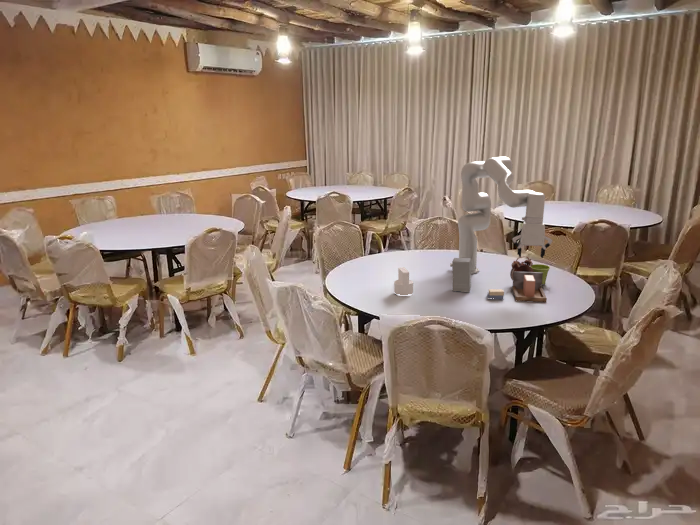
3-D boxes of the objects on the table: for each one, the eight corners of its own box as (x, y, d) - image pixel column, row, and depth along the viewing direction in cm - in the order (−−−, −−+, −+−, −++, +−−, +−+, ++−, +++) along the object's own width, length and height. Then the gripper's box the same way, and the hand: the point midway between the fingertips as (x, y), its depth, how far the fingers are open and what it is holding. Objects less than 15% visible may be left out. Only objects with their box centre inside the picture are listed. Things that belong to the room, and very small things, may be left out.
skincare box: (470, 289, 248) (471, 257, 244) (469, 293, 242) (470, 261, 237) (453, 287, 251) (454, 256, 247) (451, 292, 244) (452, 260, 240)
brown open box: (515, 300, 230) (516, 282, 228) (512, 289, 246) (513, 271, 244) (546, 302, 227) (547, 283, 225) (541, 290, 243) (542, 272, 241)
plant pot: (550, 286, 249) (551, 269, 246) (530, 285, 251) (531, 269, 248) (547, 280, 257) (548, 264, 255) (527, 280, 259) (528, 263, 257)
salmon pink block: (525, 297, 233) (526, 280, 231) (523, 290, 241) (524, 274, 239) (534, 297, 232) (535, 280, 230) (531, 291, 240) (533, 275, 238)
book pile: (487, 299, 233) (487, 291, 232) (487, 296, 237) (487, 288, 236) (503, 300, 231) (504, 292, 230) (503, 297, 235) (503, 289, 234)
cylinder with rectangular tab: (415, 296, 240) (415, 271, 237) (396, 297, 238) (396, 273, 235) (410, 290, 248) (410, 266, 245) (392, 291, 247) (392, 268, 244)
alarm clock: (528, 283, 254) (530, 254, 250) (533, 286, 249) (535, 257, 245) (508, 285, 252) (510, 256, 248) (513, 288, 248) (515, 258, 244)
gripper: (514, 221, 226) (511, 258, 230) (555, 222, 222) (551, 259, 227) (513, 217, 233) (510, 253, 238) (553, 219, 229) (549, 255, 234)
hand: (530, 256), depth 232 cm, fingers open, 9 cm apart
